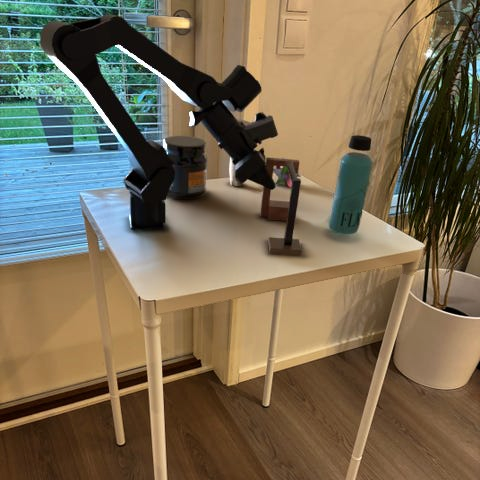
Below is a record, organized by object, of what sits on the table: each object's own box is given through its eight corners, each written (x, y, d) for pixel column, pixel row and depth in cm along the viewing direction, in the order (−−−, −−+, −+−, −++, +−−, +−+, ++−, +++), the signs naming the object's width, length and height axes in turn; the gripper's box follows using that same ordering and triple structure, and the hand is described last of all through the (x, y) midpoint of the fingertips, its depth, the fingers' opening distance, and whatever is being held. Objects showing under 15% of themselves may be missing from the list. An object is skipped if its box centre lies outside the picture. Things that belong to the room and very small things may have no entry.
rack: (269, 253, 96) (278, 182, 88) (264, 220, 110) (272, 156, 102) (300, 255, 96) (312, 185, 89) (292, 222, 110) (301, 158, 102)
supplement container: (215, 195, 120) (218, 143, 113) (179, 204, 114) (180, 149, 107) (187, 182, 126) (188, 132, 119) (152, 190, 120) (151, 137, 113)
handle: (235, 190, 124) (240, 126, 116) (221, 181, 129) (224, 120, 120) (251, 187, 127) (257, 125, 119) (236, 179, 131) (241, 118, 123)
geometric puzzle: (309, 181, 128) (300, 150, 127) (289, 184, 124) (279, 153, 124) (292, 190, 134) (283, 161, 133) (272, 194, 130) (263, 164, 130)
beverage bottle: (334, 242, 103) (354, 141, 92) (321, 228, 108) (338, 131, 97) (362, 240, 105) (385, 141, 94) (348, 227, 110) (369, 132, 99)
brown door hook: (260, 219, 110) (267, 161, 103) (259, 212, 113) (266, 155, 106) (291, 221, 110) (300, 163, 103) (290, 214, 113) (298, 158, 106)
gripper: (258, 110, 91) (310, 176, 97) (254, 92, 106) (299, 150, 113) (212, 151, 94) (264, 212, 101) (215, 128, 110) (260, 182, 117)
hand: (273, 187), depth 108 cm, fingers closed on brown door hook, 2 cm apart
